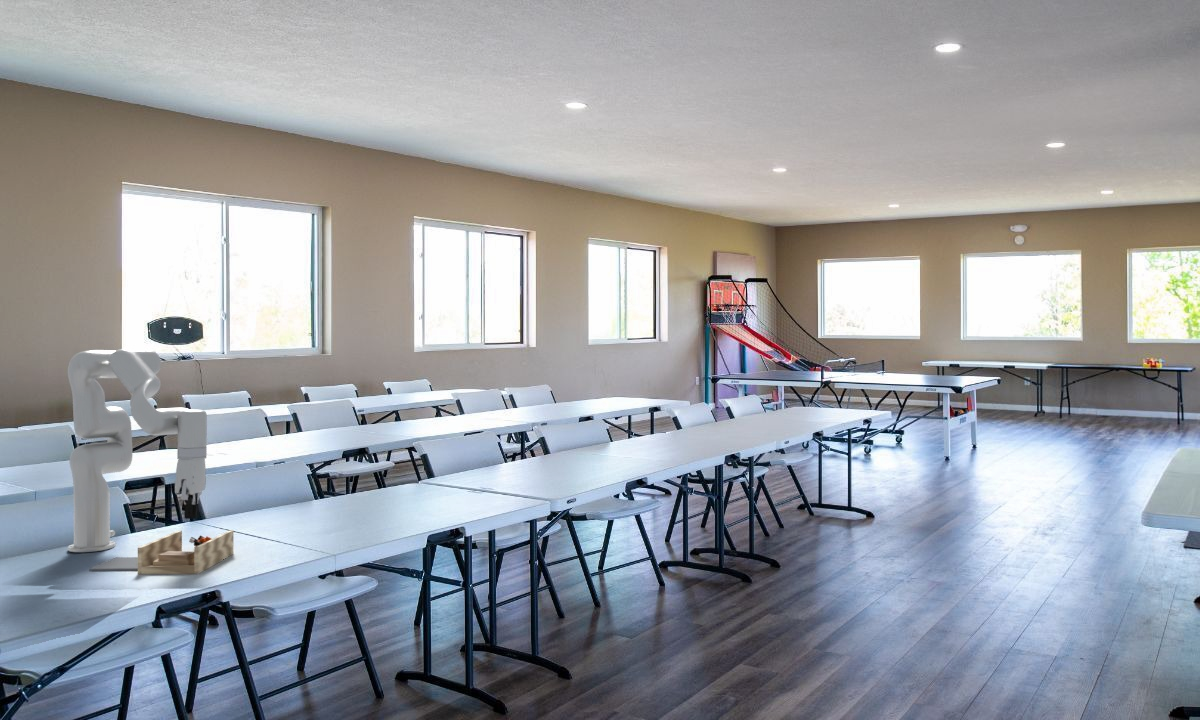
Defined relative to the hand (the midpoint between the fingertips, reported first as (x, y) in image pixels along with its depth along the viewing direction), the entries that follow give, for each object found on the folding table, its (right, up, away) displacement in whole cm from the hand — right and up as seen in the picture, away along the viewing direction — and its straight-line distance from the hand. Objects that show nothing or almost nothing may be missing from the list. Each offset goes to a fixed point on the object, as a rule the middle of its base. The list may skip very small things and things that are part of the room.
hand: (191, 518), depth 256 cm
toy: (+3, -9, +1) cm, 10 cm away
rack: (0, -12, -3) cm, 13 cm away
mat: (-16, -12, -4) cm, 20 cm away
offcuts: (+1, -12, -11) cm, 16 cm away
